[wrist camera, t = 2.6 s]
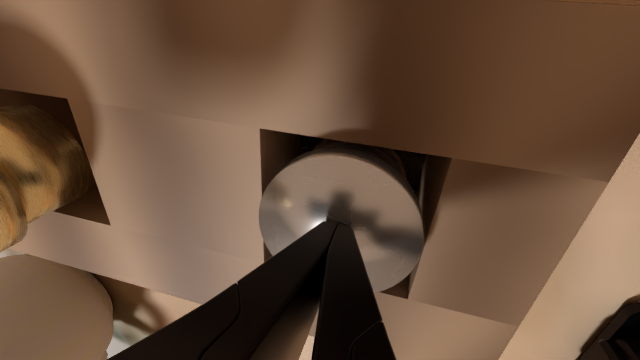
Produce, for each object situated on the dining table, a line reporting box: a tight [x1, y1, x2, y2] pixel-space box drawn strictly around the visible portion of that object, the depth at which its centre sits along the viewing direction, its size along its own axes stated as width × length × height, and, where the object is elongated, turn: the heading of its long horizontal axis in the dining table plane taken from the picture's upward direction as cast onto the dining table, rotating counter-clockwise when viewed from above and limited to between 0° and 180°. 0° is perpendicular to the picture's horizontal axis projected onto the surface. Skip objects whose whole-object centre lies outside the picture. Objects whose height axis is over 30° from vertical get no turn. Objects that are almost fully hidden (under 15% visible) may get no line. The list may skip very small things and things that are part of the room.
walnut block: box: [0, 0, 640, 360], centre depth 12 cm, size 24×12×4 cm, turn 85°
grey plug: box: [259, 139, 423, 293], centre depth 10 cm, size 5×5×3 cm
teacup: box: [0, 254, 114, 360], centre depth 20 cm, size 14×11×8 cm
